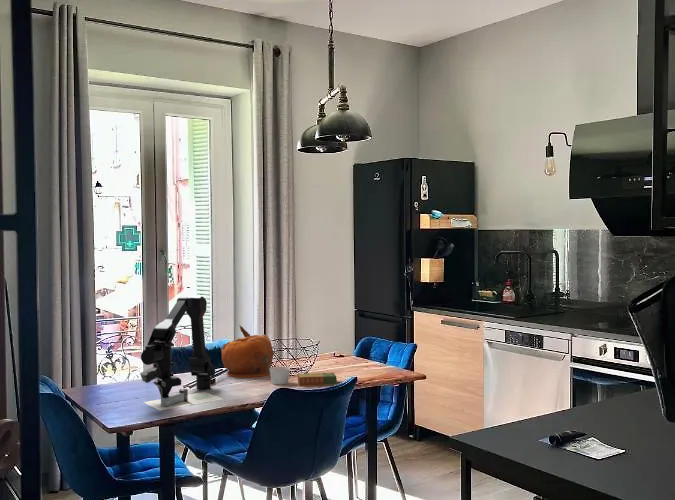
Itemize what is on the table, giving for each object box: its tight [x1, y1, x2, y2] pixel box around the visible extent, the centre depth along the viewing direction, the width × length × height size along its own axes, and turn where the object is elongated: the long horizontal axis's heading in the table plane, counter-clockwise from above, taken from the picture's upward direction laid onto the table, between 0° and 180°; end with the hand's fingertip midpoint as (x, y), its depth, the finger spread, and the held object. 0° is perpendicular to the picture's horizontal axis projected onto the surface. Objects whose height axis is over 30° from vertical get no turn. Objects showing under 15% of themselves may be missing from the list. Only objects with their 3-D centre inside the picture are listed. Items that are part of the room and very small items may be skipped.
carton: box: [297, 372, 338, 387], centre depth 293 cm, size 8×16×4 cm, turn 99°
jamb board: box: [142, 391, 224, 411], centre depth 261 cm, size 16×26×1 cm, turn 128°
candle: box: [269, 366, 291, 385], centre depth 295 cm, size 9×9×6 cm
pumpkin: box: [220, 324, 275, 379], centre depth 316 cm, size 22×25×22 cm
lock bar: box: [160, 388, 189, 406], centre depth 256 cm, size 13×3×4 cm, turn 152°
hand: (163, 401), depth 255 cm, fingers closed
